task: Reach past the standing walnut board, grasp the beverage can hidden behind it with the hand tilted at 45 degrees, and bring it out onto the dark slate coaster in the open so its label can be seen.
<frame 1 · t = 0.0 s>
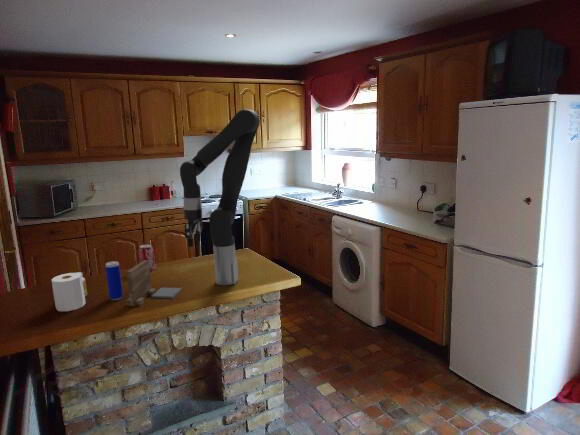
hand: (194, 244, 186), 17 cm above the countertop, tool pointing down, fingers open, 8 cm apart
coaster: (166, 293, 176), on the countertop
board: (141, 298, 172), on the countertop
supplement bottle: (80, 296, 177), on the countertop
toilet paper: (71, 306, 167), on the countertop
beverage can: (116, 298, 173), on the countertop
soda can: (148, 269, 208), on the countertop
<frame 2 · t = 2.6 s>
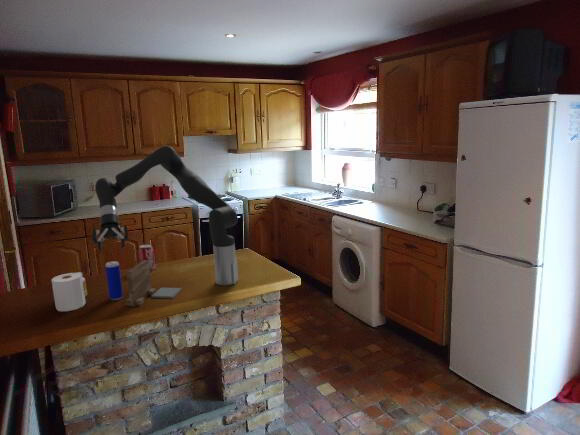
hand: (111, 249, 180), 18 cm above the countertop, tool tilted 45°, fingers open, 8 cm apart
nothing on the countertop moved.
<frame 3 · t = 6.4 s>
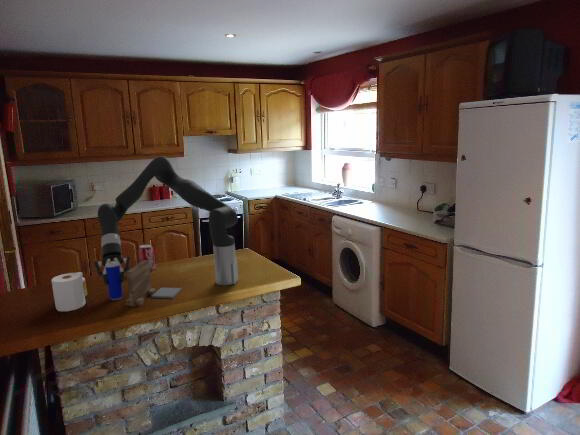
hand: (114, 282, 170), 7 cm above the countertop, tool tilted 45°, fingers closed on beverage can, 5 cm apart
beverage can: (116, 298, 173), on the countertop, touching gripper
everything else where it was.
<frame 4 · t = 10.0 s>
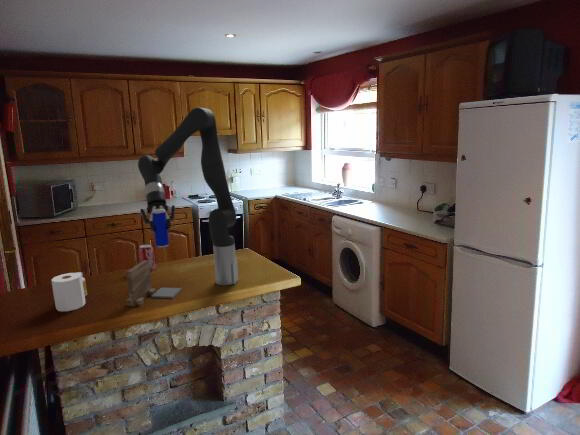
hand: (161, 229, 169), 28 cm above the countertop, tool tilted 45°, fingers closed on beverage can, 5 cm apart
beverage can: (162, 246, 172), point 20 cm above the countertop, touching gripper
everything else where it was.
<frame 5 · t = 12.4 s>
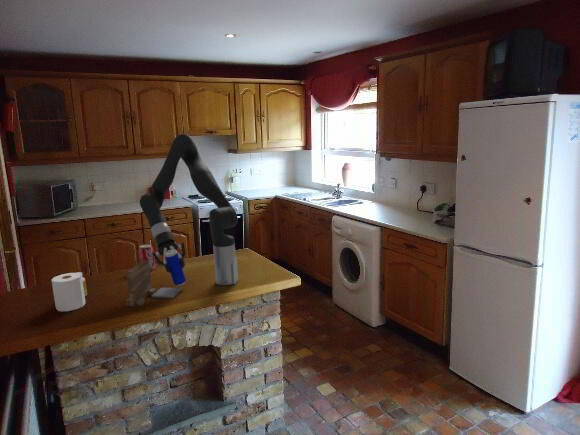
hand: (176, 269, 176), 9 cm above the countertop, tool tilted 40°, fingers closed on beverage can, 5 cm apart
beverage can: (180, 283, 181), point 2 cm above the countertop, touching gripper
everything else where it was.
when the fingers open (8 cm above the countertop, at t = 14.0 s): beverage can stays where it is, resting on coaster.
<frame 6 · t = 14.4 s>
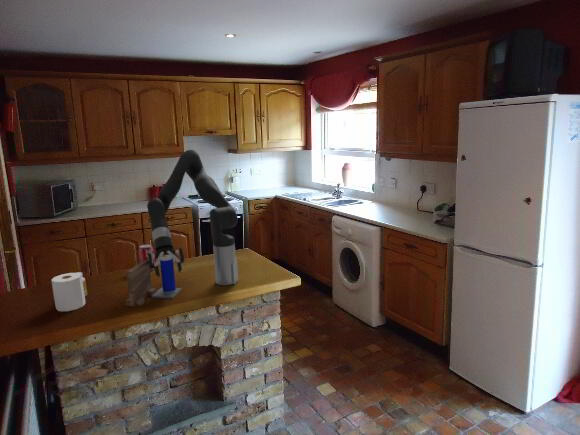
hand: (169, 273, 173), 9 cm above the countertop, tool tilted 45°, fingers open, 8 cm apart
beverage can: (169, 291, 177), point 1 cm above the countertop, touching coaster
everything else where it was.
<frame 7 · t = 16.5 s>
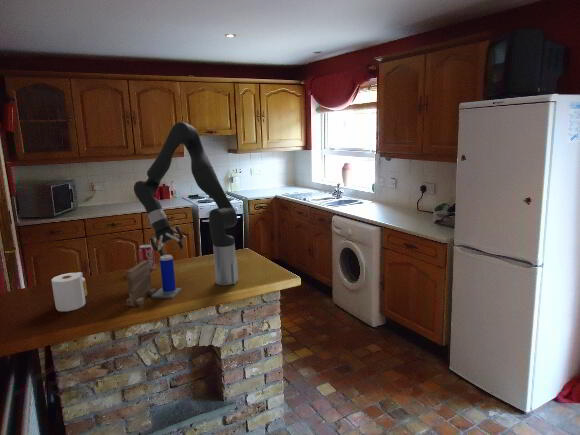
hand: (173, 253, 192), 12 cm above the countertop, tool tilted 30°, fingers open, 8 cm apart
nothing on the countertop moved.
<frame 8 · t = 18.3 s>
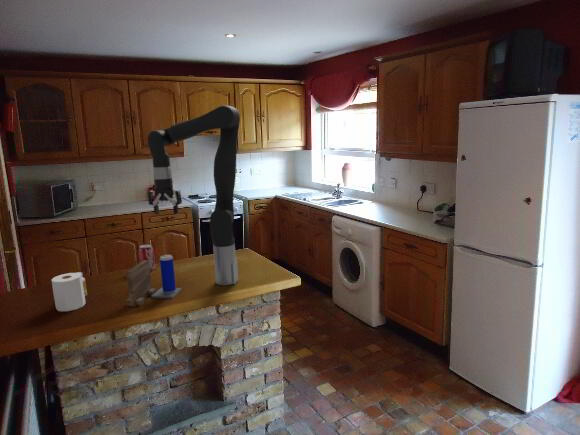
hand: (166, 214, 187), 30 cm above the countertop, tool pointing down, fingers open, 8 cm apart
nothing on the countertop moved.
at the end: beverage can inside the target area on the coaster (1.3 cm from its centre), point 0.6 cm above the coaster's base; beverage can tilted 0°; the gripper is holding nothing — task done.
